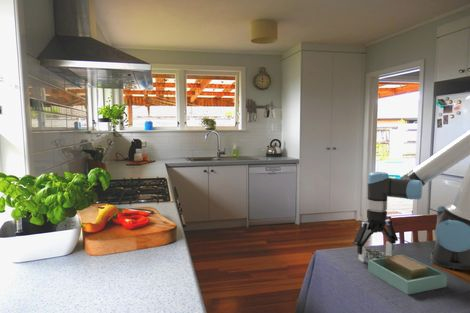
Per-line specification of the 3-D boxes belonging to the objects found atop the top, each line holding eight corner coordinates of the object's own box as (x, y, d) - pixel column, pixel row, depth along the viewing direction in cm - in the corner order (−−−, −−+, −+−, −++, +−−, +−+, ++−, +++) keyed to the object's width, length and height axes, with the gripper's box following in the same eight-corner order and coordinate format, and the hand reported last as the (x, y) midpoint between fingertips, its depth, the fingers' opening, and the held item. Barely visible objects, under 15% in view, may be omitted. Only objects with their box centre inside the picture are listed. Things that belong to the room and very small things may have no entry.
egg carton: (391, 266, 127) (391, 256, 126) (372, 266, 127) (373, 256, 126) (379, 255, 137) (380, 246, 137) (362, 255, 137) (362, 246, 137)
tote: (402, 266, 125) (403, 254, 125) (446, 288, 107) (446, 274, 107) (367, 272, 120) (367, 259, 120) (407, 296, 103) (407, 282, 102)
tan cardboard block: (399, 269, 121) (400, 254, 120) (427, 284, 109) (427, 267, 109) (384, 272, 119) (384, 256, 118) (410, 287, 107) (411, 270, 107)
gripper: (394, 205, 137) (392, 252, 139) (345, 209, 130) (343, 259, 132) (408, 209, 130) (406, 259, 132) (357, 214, 123) (355, 267, 125)
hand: (375, 259), depth 132 cm, fingers open, 13 cm apart
